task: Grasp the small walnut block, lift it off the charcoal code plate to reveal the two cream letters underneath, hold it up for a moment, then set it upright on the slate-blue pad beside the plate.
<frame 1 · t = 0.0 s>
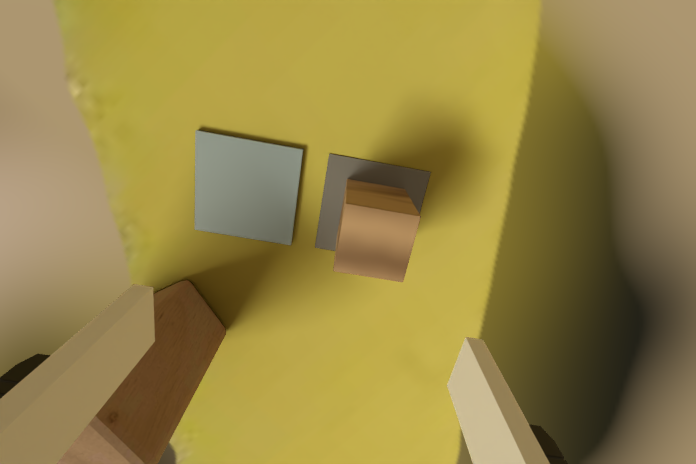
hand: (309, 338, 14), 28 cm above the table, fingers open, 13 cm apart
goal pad: (247, 190, 41), on the table
wooden block: (182, 316, 48), on the table
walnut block: (370, 211, 41), resting on code plate
code plate: (370, 211, 42), on the table
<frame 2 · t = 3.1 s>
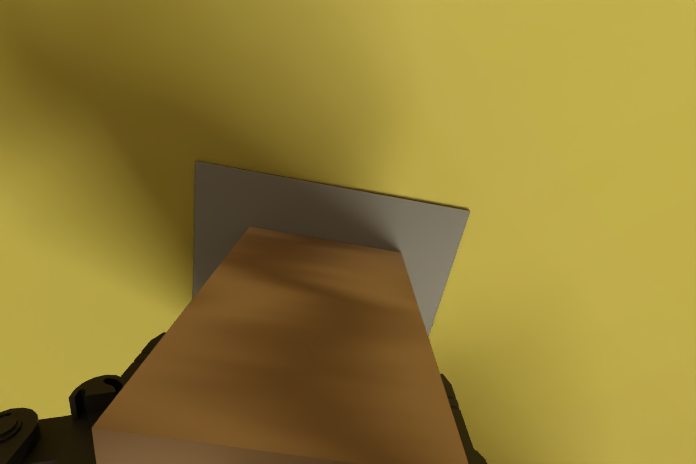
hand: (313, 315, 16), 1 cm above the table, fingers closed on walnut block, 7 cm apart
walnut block: (315, 303, 17), resting on code plate, touching gripper
code plate: (315, 302, 17), on the table
when the fingers open (3 cm above the table, at t = 11.2 s): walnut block drops 1 cm, resting on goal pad.
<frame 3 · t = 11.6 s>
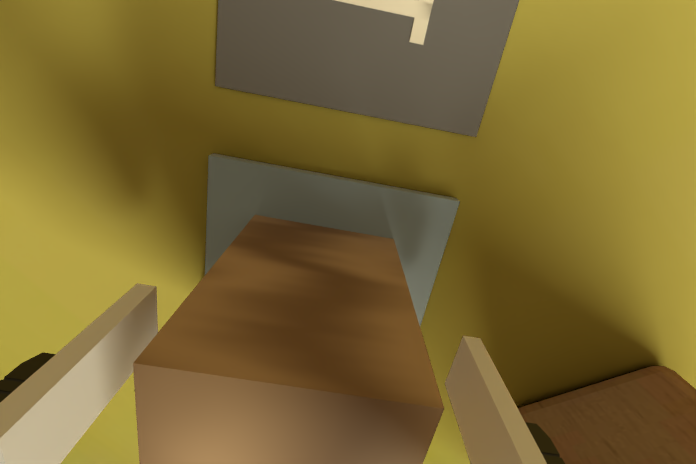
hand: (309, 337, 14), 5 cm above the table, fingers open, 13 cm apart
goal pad: (319, 281, 19), on the table
wooden block: (592, 429, 23), on the table
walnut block: (314, 287, 18), point 1 cm above the table, touching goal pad
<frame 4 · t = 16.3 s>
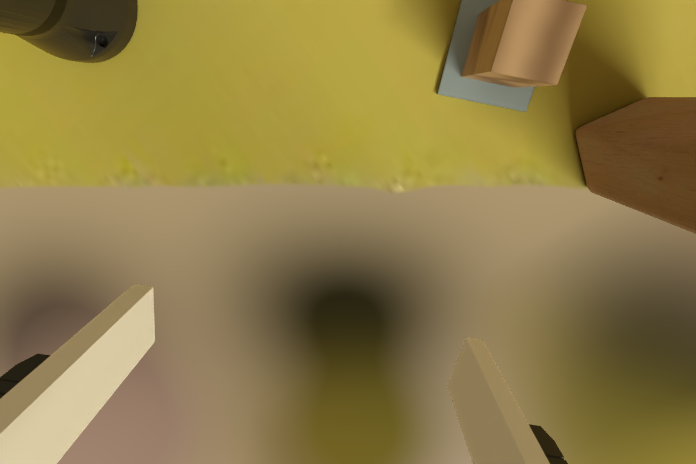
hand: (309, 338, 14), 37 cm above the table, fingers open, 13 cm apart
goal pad: (496, 52, 43), on the table
wooden block: (613, 145, 47), on the table
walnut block: (496, 52, 42), point 1 cm above the table, touching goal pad
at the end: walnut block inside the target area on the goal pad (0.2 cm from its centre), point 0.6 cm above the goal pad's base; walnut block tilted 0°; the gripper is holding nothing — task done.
